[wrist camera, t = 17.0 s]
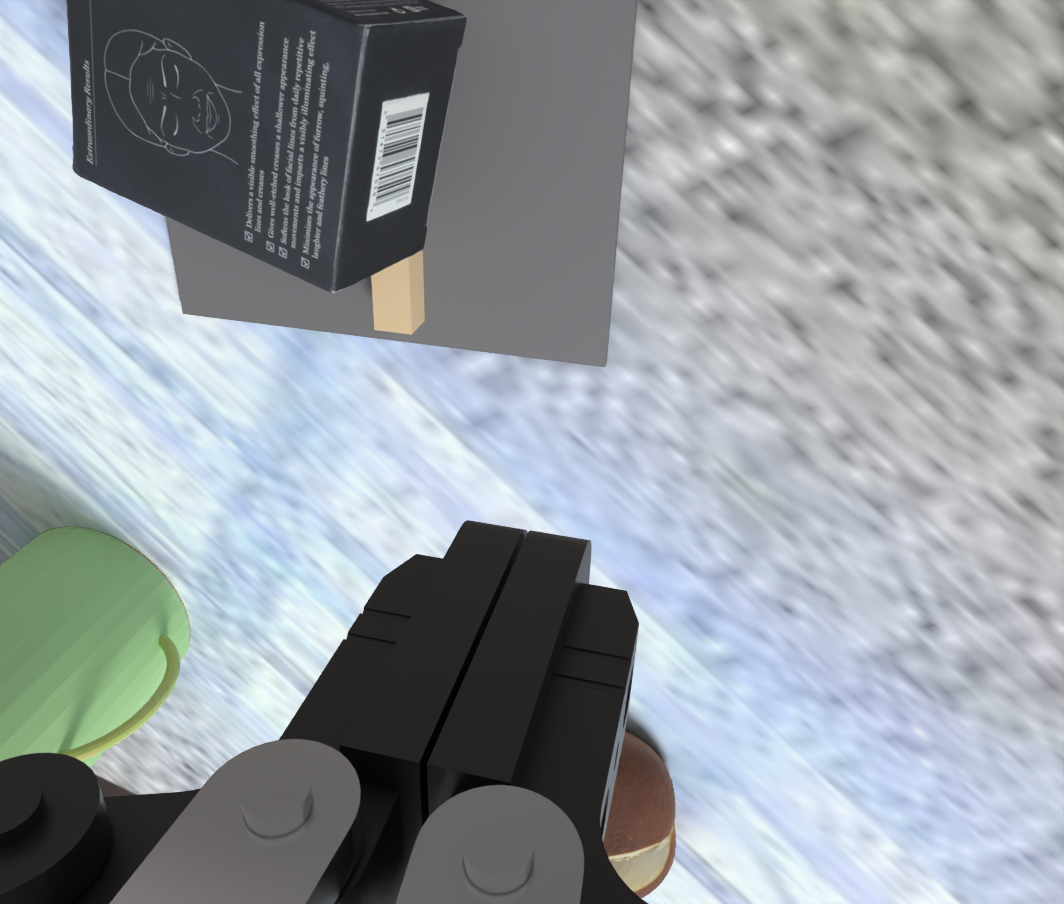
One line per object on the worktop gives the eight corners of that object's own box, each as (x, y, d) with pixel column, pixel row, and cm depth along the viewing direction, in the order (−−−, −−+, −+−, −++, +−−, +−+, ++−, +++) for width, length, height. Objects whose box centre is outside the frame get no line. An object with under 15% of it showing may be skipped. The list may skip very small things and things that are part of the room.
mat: (648, -134, 26) (640, -140, 24) (606, 363, 34) (598, 383, 32) (110, -145, 29) (71, -152, 27) (188, 310, 37) (162, 326, 35)
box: (475, 15, 26) (196, -90, 28) (370, 26, 22) (49, -100, 24) (428, 253, 31) (190, 145, 33) (333, 302, 26) (65, 174, 28)
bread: (683, 722, 42) (674, 807, 38) (675, 873, 47) (666, 962, 43) (464, 691, 44) (433, 768, 40) (480, 838, 50) (454, 919, 46)
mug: (57, 667, 51) (-120, 843, 41) (-4, 518, 46) (-223, 676, 36) (250, 696, 48) (112, 892, 38) (208, 541, 43) (36, 719, 33)
